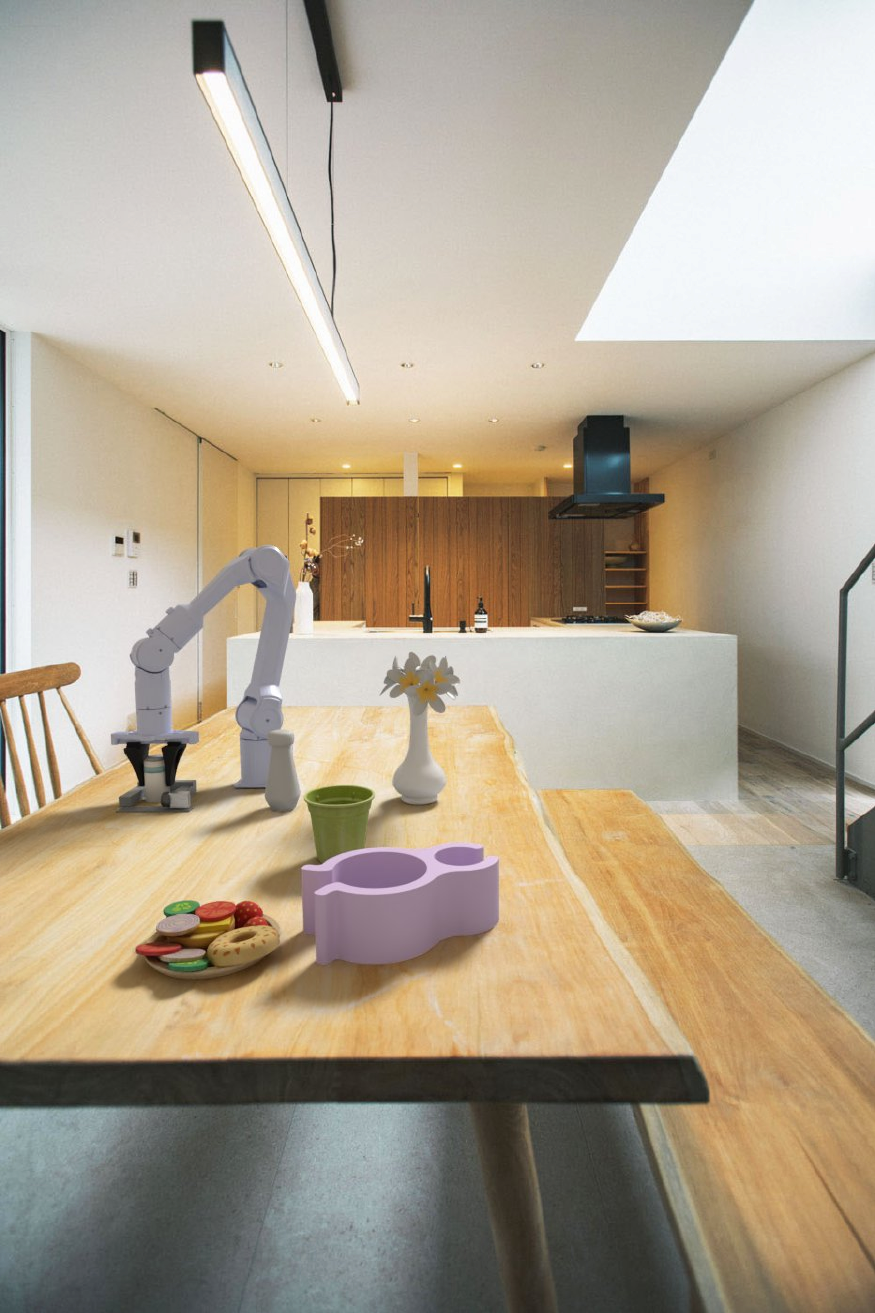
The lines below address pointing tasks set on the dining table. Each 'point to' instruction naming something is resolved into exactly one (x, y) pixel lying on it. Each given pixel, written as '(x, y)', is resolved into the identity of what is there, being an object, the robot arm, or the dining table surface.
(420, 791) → the flower vase
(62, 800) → the dining table surface
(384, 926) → the clip
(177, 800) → the latch pin
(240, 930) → the toy food set
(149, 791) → the white cylinder
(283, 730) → the salt shaker
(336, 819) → the plant pot
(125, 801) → the housing
